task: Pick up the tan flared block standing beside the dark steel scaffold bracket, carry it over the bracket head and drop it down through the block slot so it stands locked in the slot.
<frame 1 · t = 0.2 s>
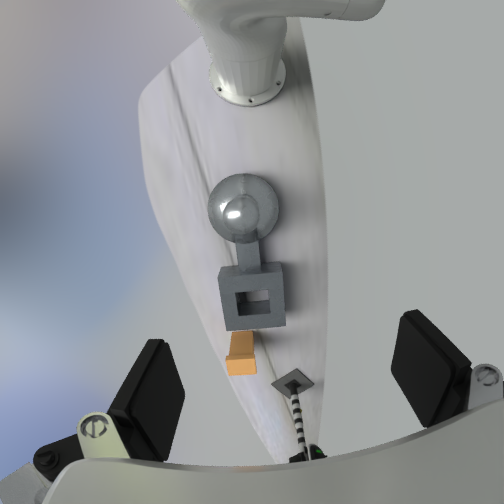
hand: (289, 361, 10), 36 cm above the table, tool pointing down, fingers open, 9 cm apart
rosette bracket: (253, 290, 49), on the table
tan flared block: (243, 337, 51), on the table
miniature traffic light: (293, 382, 55), on the table
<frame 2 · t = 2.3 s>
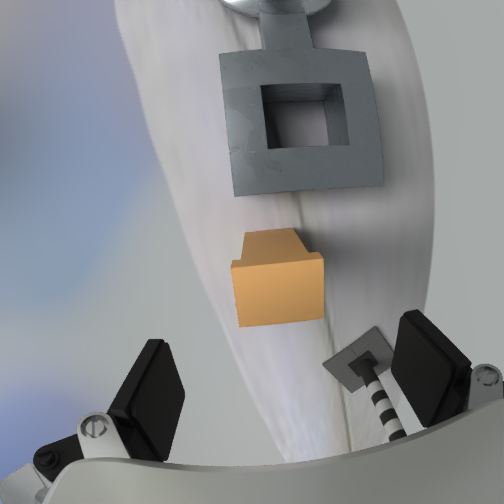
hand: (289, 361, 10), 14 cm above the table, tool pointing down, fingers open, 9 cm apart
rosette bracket: (294, 126, 20), on the table
tan flared block: (270, 247, 23), on the table
miniature traffic light: (363, 358, 27), on the table
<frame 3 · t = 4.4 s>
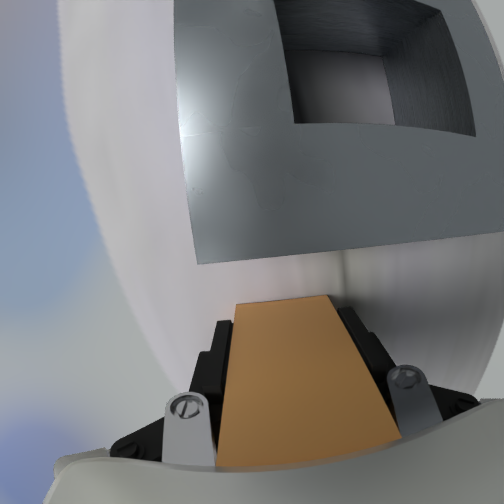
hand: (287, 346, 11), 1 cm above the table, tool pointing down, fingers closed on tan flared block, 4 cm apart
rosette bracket: (334, 94, 9), on the table
tan flared block: (283, 329, 12), on the table, touching gripper
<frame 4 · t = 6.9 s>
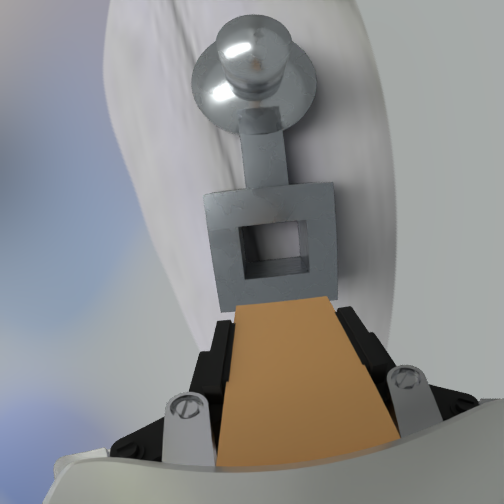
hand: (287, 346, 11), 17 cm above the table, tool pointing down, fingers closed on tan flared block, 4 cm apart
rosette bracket: (271, 237, 26), on the table
tan flared block: (283, 330, 12), point 15 cm above the table, touching gripper
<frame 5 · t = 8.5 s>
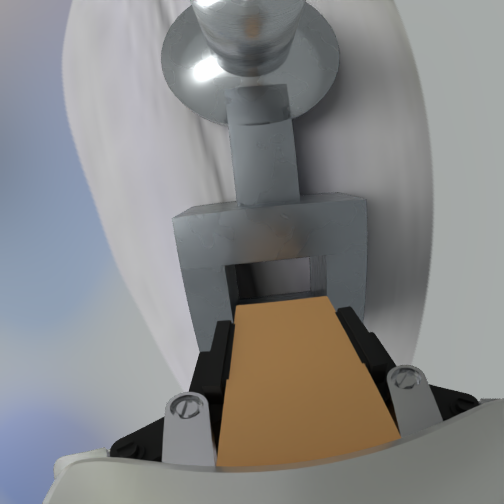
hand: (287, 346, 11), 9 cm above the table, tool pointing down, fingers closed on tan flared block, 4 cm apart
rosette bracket: (273, 267, 20), on the table
tan flared block: (284, 329, 12), point 8 cm above the table, touching gripper
when the fingers open (7 cm above the table, at t = 9.6 s): tan flared block drops 6 cm, resting in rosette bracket.
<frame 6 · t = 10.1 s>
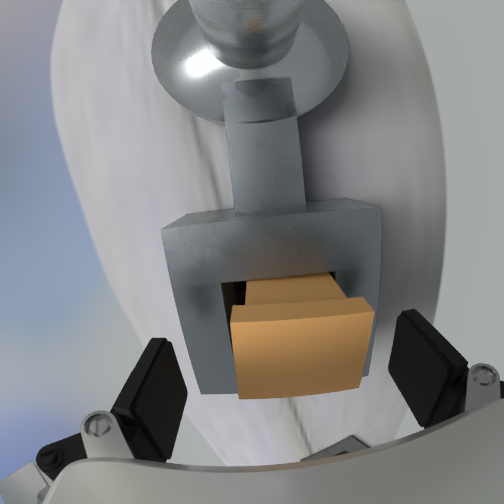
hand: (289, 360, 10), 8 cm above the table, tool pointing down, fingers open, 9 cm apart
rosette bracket: (274, 281, 18), on the table
tan flared block: (280, 272, 18), resting in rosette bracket
miniature traffic light: (339, 453, 24), on the table
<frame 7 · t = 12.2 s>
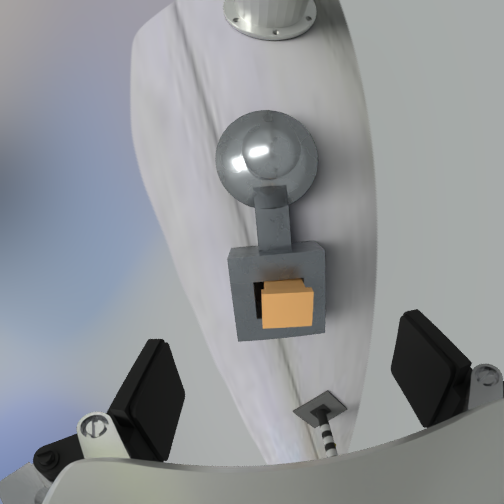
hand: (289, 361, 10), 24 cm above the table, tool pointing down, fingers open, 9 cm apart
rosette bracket: (276, 283, 34), on the table
tan flared block: (279, 278, 34), resting in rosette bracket
miniature traffic light: (321, 407, 40), on the table
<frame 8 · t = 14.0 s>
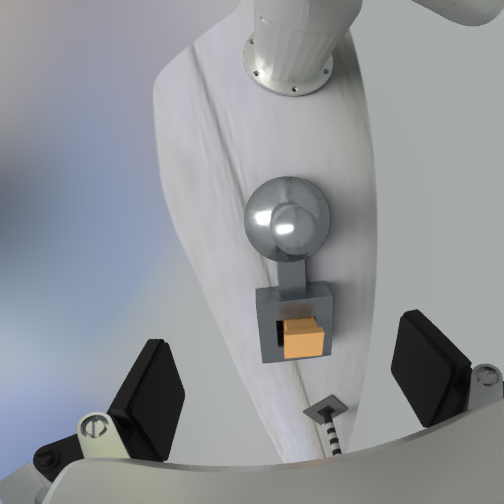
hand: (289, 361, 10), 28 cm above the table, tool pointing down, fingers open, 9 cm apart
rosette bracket: (292, 314, 41), on the table
tan flared block: (294, 311, 40), resting in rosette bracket
miniature traffic light: (326, 408, 47), on the table
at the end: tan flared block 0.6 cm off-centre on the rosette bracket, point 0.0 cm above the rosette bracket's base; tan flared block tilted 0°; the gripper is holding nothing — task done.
